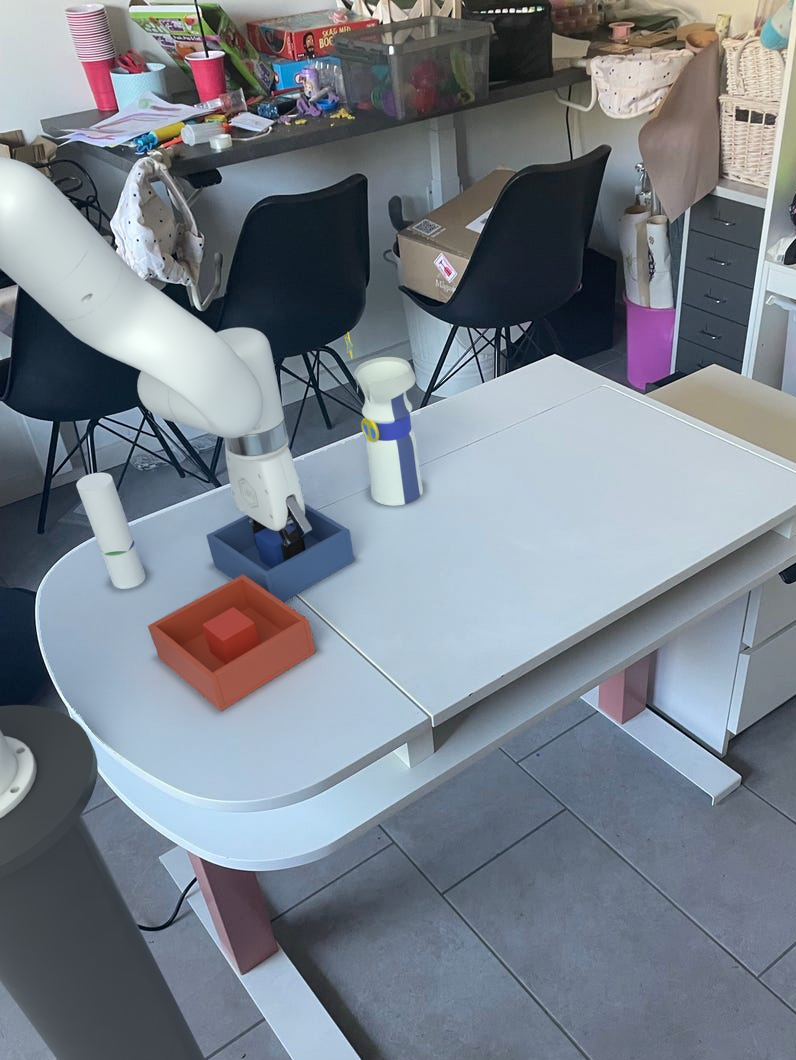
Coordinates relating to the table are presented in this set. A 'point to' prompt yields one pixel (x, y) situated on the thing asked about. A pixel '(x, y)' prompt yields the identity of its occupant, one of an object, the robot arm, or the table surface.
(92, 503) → the tube
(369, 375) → the water bottle
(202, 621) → the red bin
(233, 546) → the blue bin
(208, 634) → the red block
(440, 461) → the table surface
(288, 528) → the blue block
